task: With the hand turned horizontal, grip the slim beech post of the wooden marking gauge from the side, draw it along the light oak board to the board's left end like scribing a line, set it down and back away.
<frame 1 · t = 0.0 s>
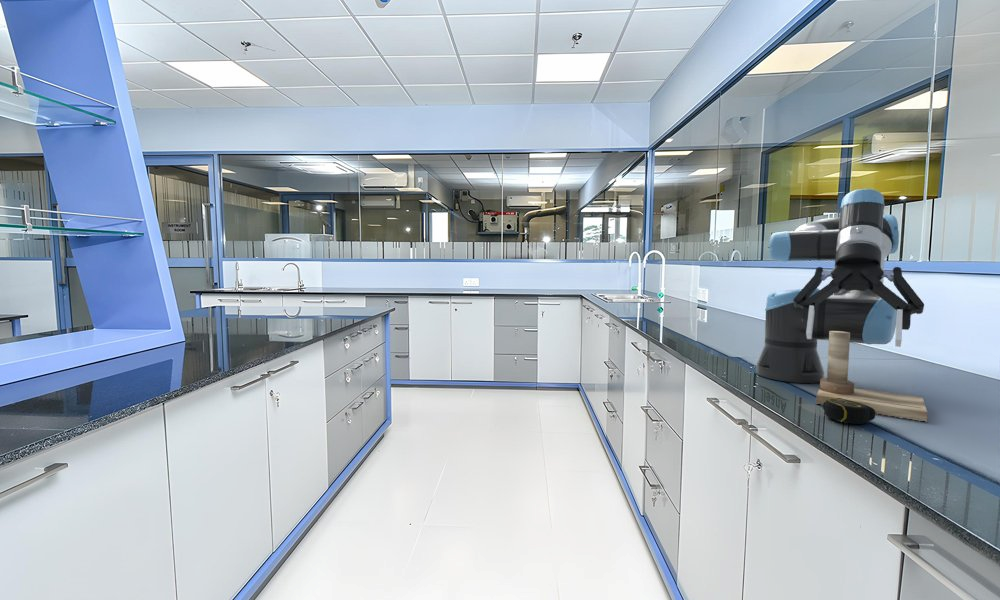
hand: (851, 339, 85), 15 cm above the table, fingers open, 13 cm apart
board: (868, 405, 93), on the table
gauge: (836, 390, 97), point 2 cm above the table, touching board
tape measure: (845, 421, 85), on the table
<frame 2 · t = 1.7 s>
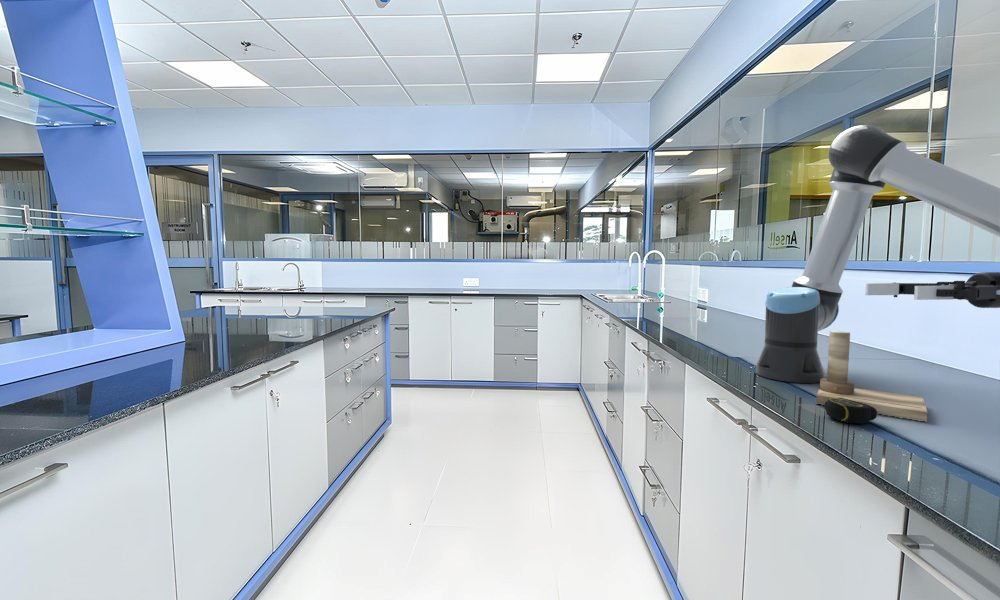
hand: (889, 290, 94), 24 cm above the table, fingers open, 13 cm apart
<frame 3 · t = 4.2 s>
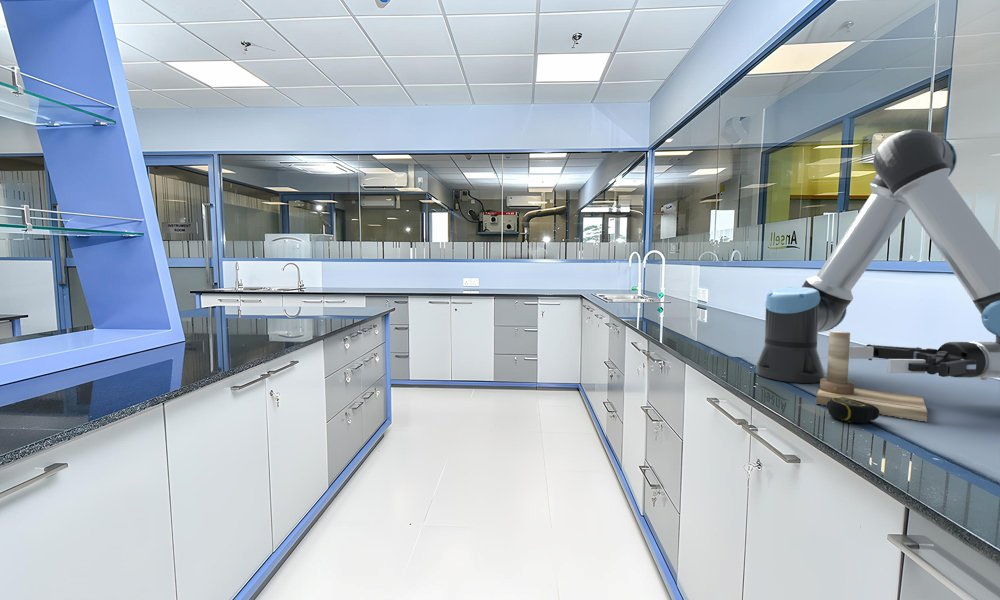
hand: (863, 358, 95), 9 cm above the table, fingers open, 13 cm apart
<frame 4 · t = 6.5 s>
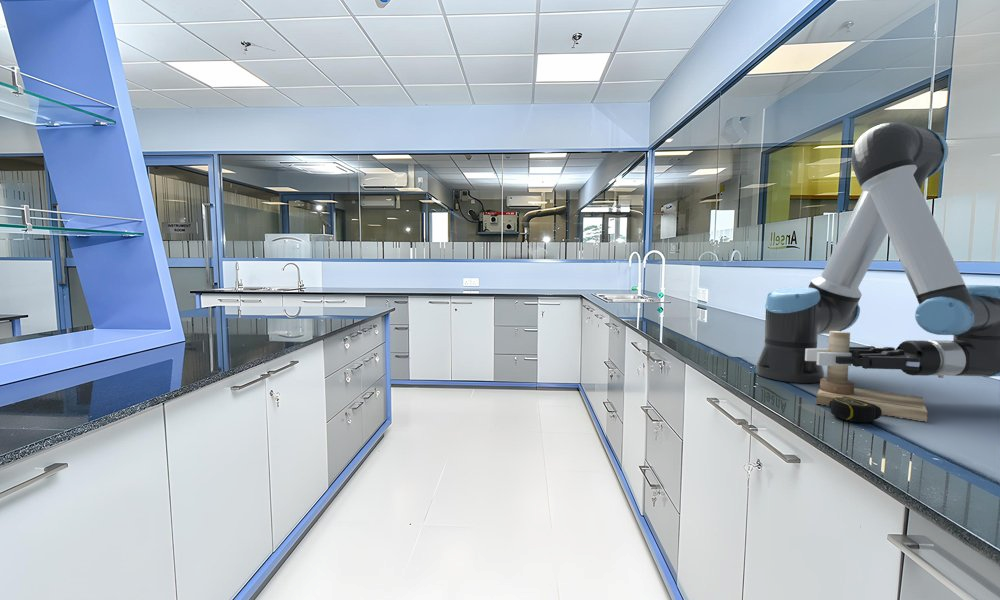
hand: (812, 356, 97), 10 cm above the table, fingers closed on gauge, 4 cm apart
gauge: (836, 390, 97), point 2 cm above the table, touching board, gripper
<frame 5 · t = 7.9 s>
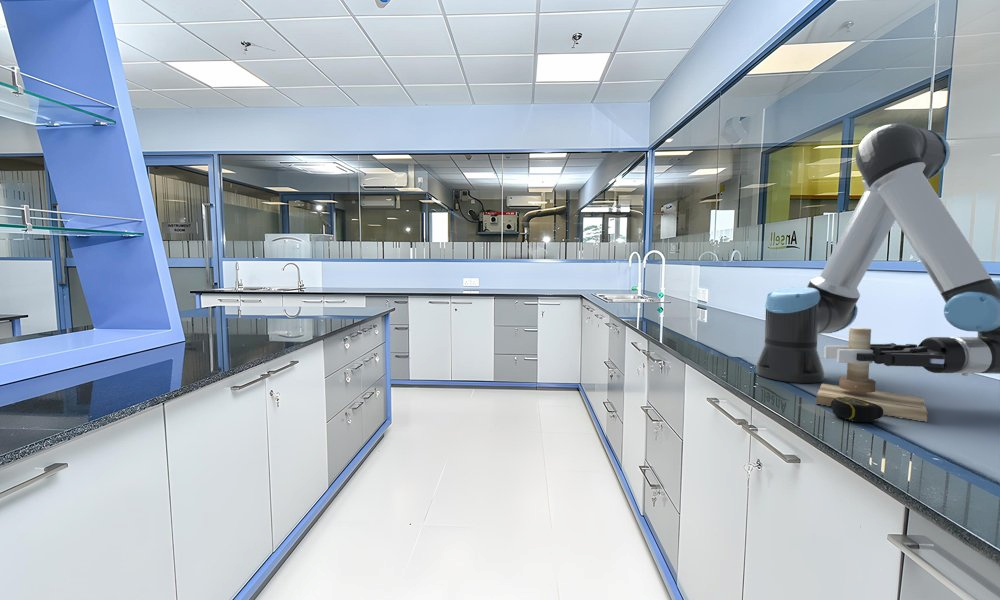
hand: (831, 353, 94), 11 cm above the table, fingers closed on gauge, 4 cm apart
gauge: (856, 388, 94), point 3 cm above the table, touching gripper
when the fingers open (10 cm above the table, at t = 9.6 s): gauge stays where it is, resting on board.
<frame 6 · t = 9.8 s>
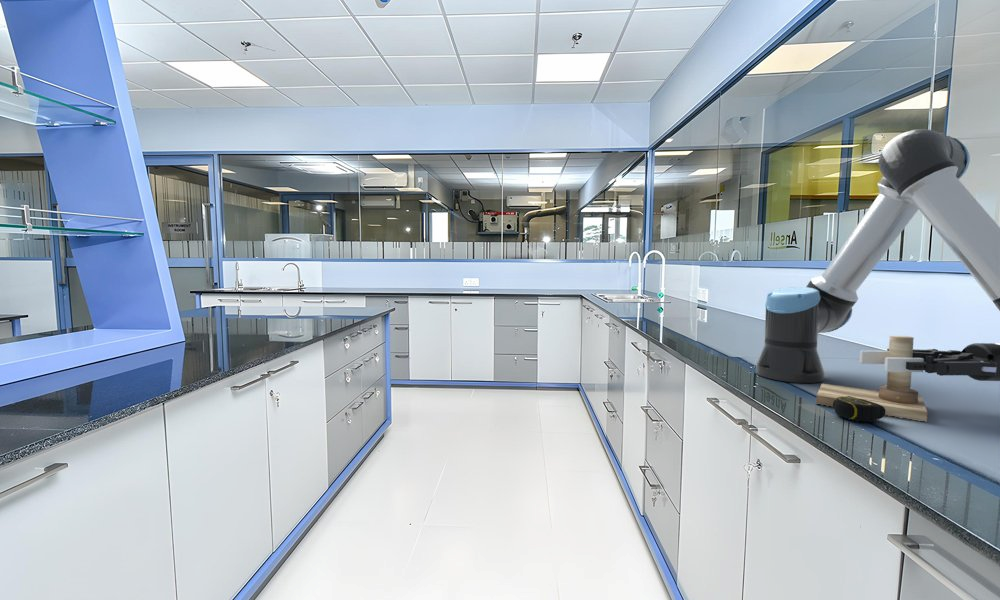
hand: (873, 360, 90), 10 cm above the table, fingers open, 6 cm apart
gauge: (897, 399, 90), point 2 cm above the table, touching board
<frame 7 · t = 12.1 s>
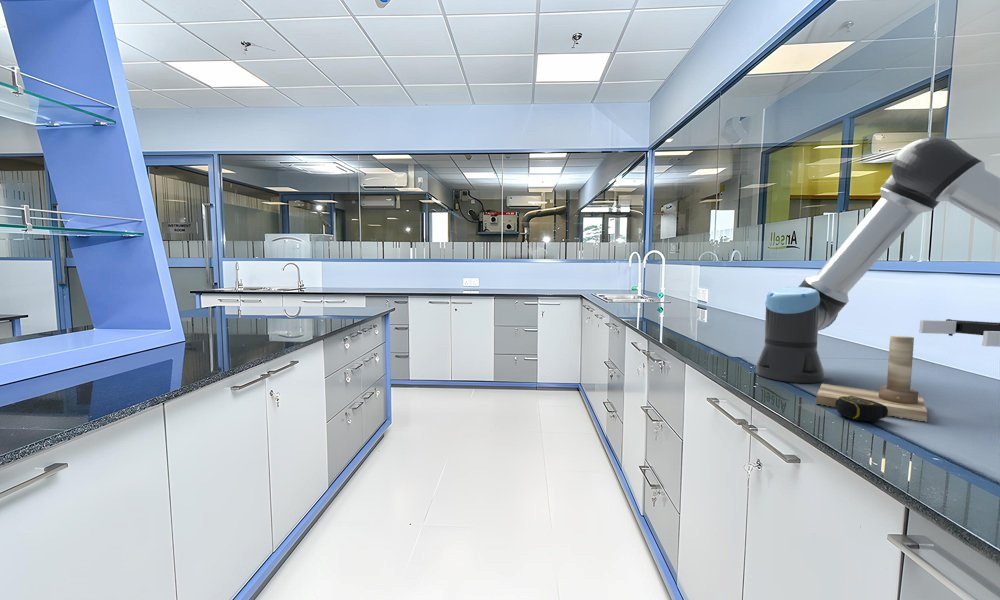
hand: (950, 332, 87), 16 cm above the table, fingers open, 13 cm apart
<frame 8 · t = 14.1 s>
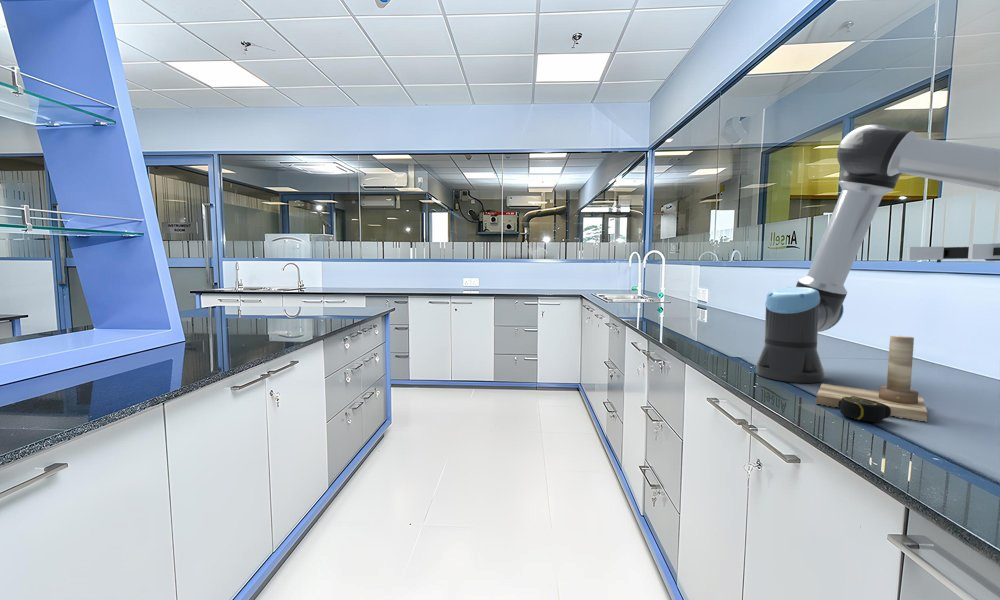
hand: (936, 252, 86), 32 cm above the table, fingers open, 13 cm apart
at the end: gauge inside the target area (0.2 cm from its centre), point 2.0 cm above the table; gauge tilted 0°; the gripper is holding nothing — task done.
